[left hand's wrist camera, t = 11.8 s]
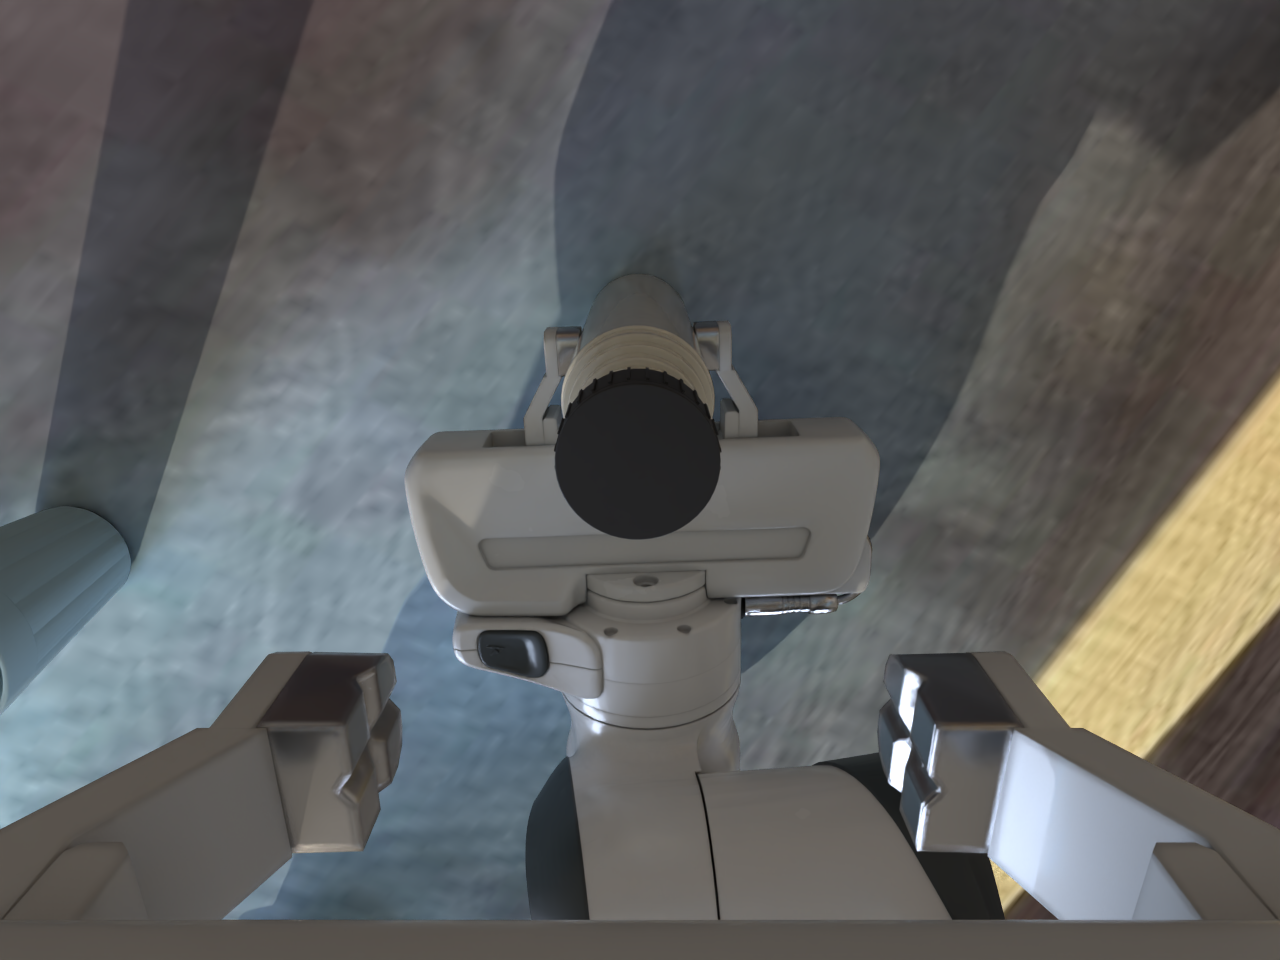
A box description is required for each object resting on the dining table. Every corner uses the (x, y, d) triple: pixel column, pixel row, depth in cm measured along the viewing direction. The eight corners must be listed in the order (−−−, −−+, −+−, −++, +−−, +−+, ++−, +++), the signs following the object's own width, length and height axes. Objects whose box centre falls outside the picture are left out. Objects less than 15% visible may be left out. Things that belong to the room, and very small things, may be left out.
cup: (160, 509, 41) (10, 612, 31) (147, 630, 44) (4, 760, 34) (9, 467, 40) (-194, 559, 30) (5, 592, 43) (-183, 714, 33)
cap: (602, 539, 21) (599, 566, 20) (530, 407, 20) (521, 426, 19) (740, 478, 21) (749, 502, 19) (676, 338, 20) (680, 352, 18)
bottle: (615, 388, 39) (594, 574, 20) (571, 300, 37) (505, 415, 19) (703, 348, 38) (764, 502, 20) (662, 256, 37) (686, 330, 18)
